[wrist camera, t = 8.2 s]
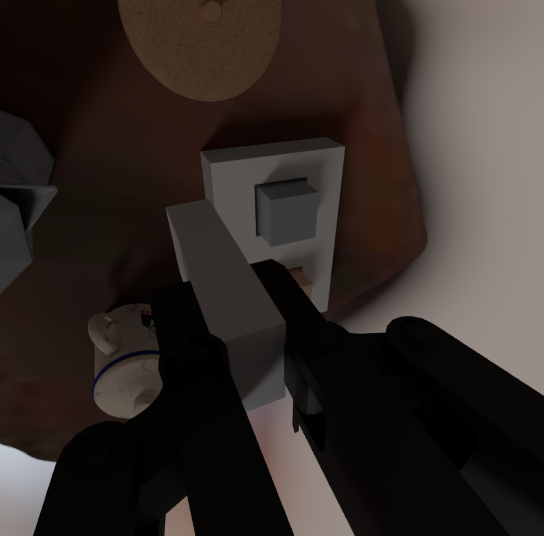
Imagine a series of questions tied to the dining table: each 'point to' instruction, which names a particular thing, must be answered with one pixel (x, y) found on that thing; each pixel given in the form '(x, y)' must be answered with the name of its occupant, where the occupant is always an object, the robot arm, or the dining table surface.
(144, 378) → the teacup with lid
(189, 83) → the lidded jar
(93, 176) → the dining table surface
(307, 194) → the grey key
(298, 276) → the terracotta key
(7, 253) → the coffee maker
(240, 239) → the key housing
